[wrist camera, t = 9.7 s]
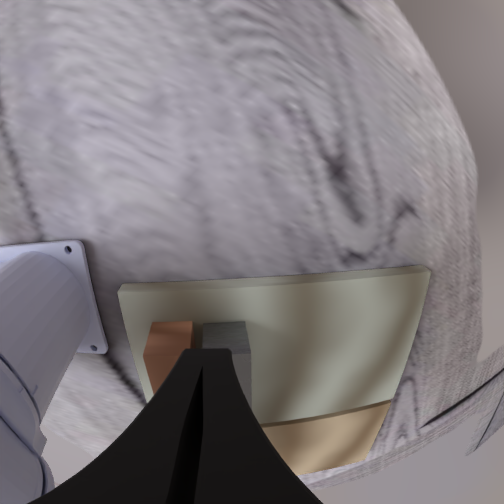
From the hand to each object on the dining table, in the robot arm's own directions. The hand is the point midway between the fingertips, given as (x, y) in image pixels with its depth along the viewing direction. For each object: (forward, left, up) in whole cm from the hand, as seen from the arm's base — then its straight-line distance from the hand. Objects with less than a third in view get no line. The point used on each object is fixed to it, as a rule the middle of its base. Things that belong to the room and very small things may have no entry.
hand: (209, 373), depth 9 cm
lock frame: (+4, -13, -9) cm, 17 cm away
